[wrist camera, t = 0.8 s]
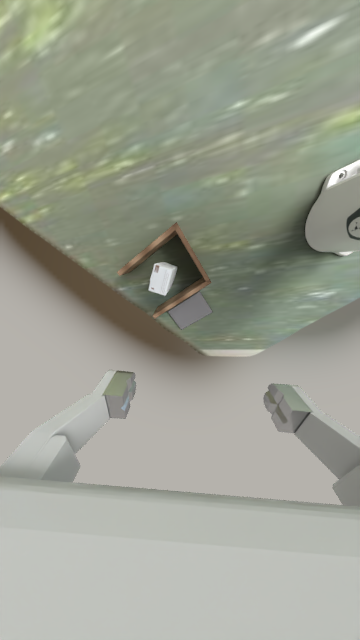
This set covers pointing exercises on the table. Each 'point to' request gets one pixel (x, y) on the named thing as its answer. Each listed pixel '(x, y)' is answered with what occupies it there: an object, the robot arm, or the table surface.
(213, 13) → the table surface
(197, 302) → the charcoal mat
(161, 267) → the skincare box
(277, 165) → the table surface
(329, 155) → the table surface
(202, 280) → the walnut u-shaped frame
